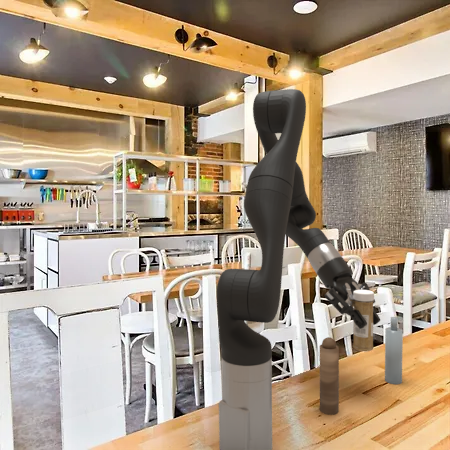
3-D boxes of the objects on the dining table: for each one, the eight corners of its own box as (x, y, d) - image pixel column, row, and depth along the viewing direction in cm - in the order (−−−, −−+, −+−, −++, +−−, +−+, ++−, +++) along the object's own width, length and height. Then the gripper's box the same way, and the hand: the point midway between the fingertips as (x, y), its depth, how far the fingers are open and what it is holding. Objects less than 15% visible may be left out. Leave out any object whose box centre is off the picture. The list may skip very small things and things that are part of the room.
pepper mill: (333, 416, 90) (333, 342, 89) (316, 410, 92) (316, 338, 91) (341, 409, 93) (341, 337, 92) (324, 403, 95) (324, 333, 94)
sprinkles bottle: (377, 349, 98) (378, 291, 97) (364, 353, 96) (365, 294, 95) (361, 343, 102) (362, 288, 101) (348, 347, 99) (349, 290, 99)
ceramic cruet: (399, 385, 104) (399, 321, 103) (382, 381, 106) (383, 318, 105) (404, 380, 107) (405, 317, 106) (387, 376, 109) (388, 314, 108)
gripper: (317, 258, 100) (361, 321, 90) (356, 253, 108) (399, 310, 99) (301, 277, 104) (340, 339, 95) (339, 271, 112) (379, 327, 103)
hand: (370, 324), depth 97 cm, fingers closed on sprinkles bottle, 4 cm apart
